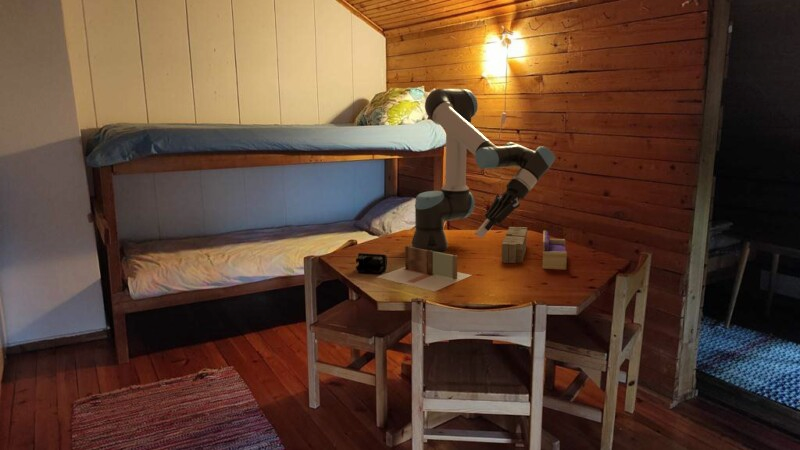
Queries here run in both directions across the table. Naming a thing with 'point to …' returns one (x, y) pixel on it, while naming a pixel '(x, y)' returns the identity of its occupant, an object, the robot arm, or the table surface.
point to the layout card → (421, 279)
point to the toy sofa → (554, 253)
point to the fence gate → (445, 265)
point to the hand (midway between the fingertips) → (478, 235)
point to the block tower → (514, 245)
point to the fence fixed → (419, 260)
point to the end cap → (371, 263)
